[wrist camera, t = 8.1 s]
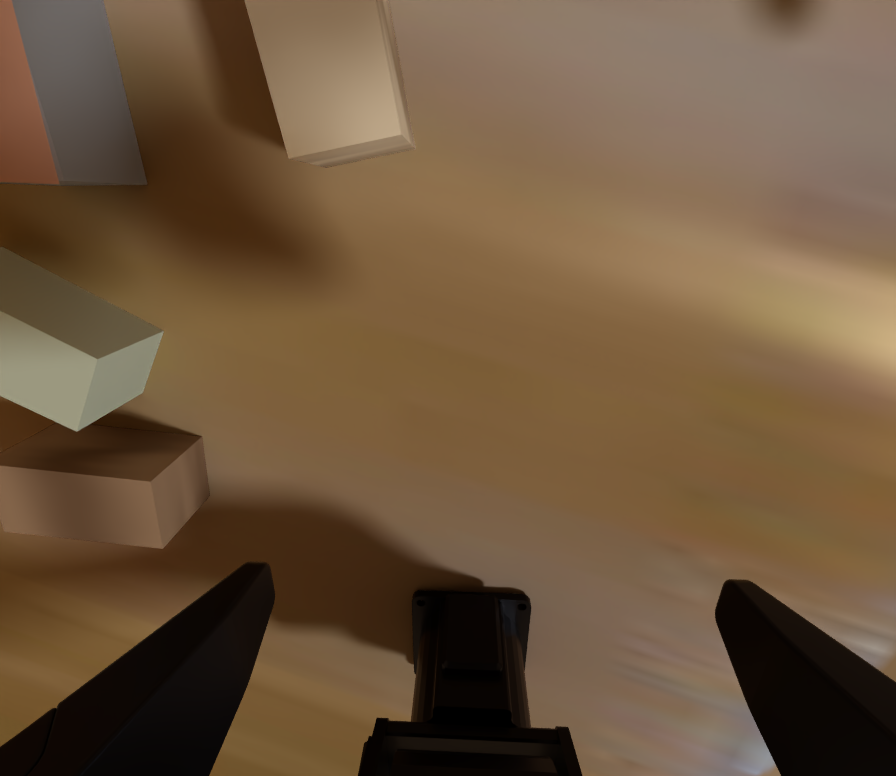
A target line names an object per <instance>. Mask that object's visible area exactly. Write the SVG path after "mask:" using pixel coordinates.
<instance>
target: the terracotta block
mask: <svg viewBox="0 0 896 776" xmlns="http://www.w3.org/2000/svg"><path fill="white" fill-rule="evenodd" d="M0 182H13V183H38V184H59V180H58V176H57V173H56V169H55V165H54V161H53V157H52V153H51V150H50V146H49V142H48V138H47V134H46V130H45V126H44V123H43V119H42V115H41V111H40V107H39V103H38V100H37V96H36V92H35V88H34V84H33V80H32V77H31V73H30V69H29V65H28V61H27V57H26V54H25V50H24V46H23V42H22V38H21V34H20V30H19V27H18V23H17V19H16V15H15V11H14V7H13V3H12V0H0Z"/></svg>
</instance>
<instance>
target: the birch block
mask: <svg viewBox="0 0 896 776" xmlns="http://www.w3.org/2000/svg"><path fill="white" fill-rule="evenodd" d="M244 1H245V4H246V8H247V11H248V15H249V19H250V22H251V26H252V29H253V33H254V37H255V40H256V44H257V47H258V51H259V54H260V58H261V62H262V65H263V69H264V72H265V76H266V80H267V83H268V87H269V90H270V94H271V97H272V101H273V105H274V108H275V112H276V115H277V119H278V123H279V126H280V130H281V133H282V137H283V140H284V144H285V148H286V151H287V155H288V158H289V159H292V160H296V161H300V162H305V163H309V164H313V165H317V166H321V167H325V168H328V167H332V166H337V165H342V164H347V163H351V162H356V161H361V160H366V159H371V158H375V157H380V156H385V155H390V154H394V153H399V152H404V151H409V150H414V149H416V147H415V141H414V136H413V130H412V125H411V119H410V114H409V109H408V103H407V98H406V92H405V87H404V81H403V76H402V70H401V65H400V59H399V54H398V49H397V43H396V38H395V32H394V27H393V21H392V16H391V10H390V5H389V0H244Z"/></svg>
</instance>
